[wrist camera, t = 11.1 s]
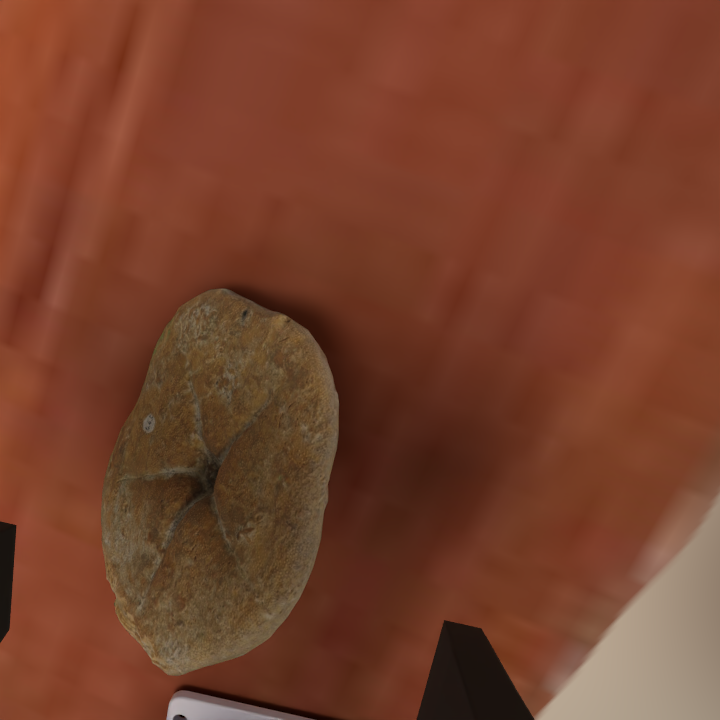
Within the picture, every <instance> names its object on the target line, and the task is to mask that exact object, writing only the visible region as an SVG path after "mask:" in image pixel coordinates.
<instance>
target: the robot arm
mask: <svg viewBox="0 0 720 720" xmlns="http://www.w3.org/2000/svg"><path fill="white" fill-rule="evenodd" d="M15 537H16V525H13V524H9V523H4V522H0V642H1V641H2V639H3V638H4V637H5V635H6V634H7V632H8V631H9V628H10V613H11V598H12V582H13V567H14V552H15ZM179 715H183V716H185V717H186V718H182V717H180V716H179ZM166 720H315V719H310V718H306V717H301V716H297V715H293V714H288V713H284V712H279V711H275V710H270V709H266V708H262V707H257V706H253V705H248V704H244V703H239V702H235V701H231V700H226V699H222V698H217V697H213V696H209V695H204V694H200V693H195V692H191V691H185V690H181V691H178V692H176V693H175V694H174V695H173V696H172V699H171V701H170V703H169V706H168V713H167V719H166ZM417 720H534V718H533V716H532V715H531V713H530V712H529V710H528V708H527V707H526V705H525V703H524V702H523V700H522V698H521V697H520V695H519V693H518V692H517V690H516V688H515V686H514V685H513V683H512V681H511V679H510V678H509V676H508V674H507V673H506V671H505V669H504V667H503V665H502V664H501V662H500V660H499V658H498V657H497V655H496V653H495V651H494V650H493V648H492V646H491V644H490V642H489V641H488V639H487V637H486V636H485V634H484V632H483V631H482V629H481V628H477V627H473V626H468V625H464V624H459V623H455V622H450V621H446V620H444V623H443V627H442V630H441V634H440V638H439V641H438V645H437V648H436V652H435V656H434V659H433V663H432V666H431V670H430V674H429V677H428V681H427V684H426V688H425V692H424V695H423V699H422V702H421V706H420V709H419V713H418V717H417Z"/></svg>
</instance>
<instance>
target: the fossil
mask: <svg viewBox="0 0 720 720" xmlns="http://www.w3.org/2000/svg"><path fill="white" fill-rule="evenodd" d="M338 437H339V400H338V394H337V391H336V389H335V385H334V380H333V375H332V372H331V370H330V367H329V365H328V362H327V358H326V356H325V354H324V353H323V351H322V349H321V348H320V346H319V344H318V343H317V342H316V340H315V339H314V338H313V336H312V335H311V333H310V332H309V330H308V329H306V328H304V327H303V326H301V325H300V324H298V323H297V322H295V321H294V320H292V319H291V318H289V317H288V316H286V315H285V314H282V313H279V312H273V311H271V310H269V309H266V308H264V307H262V306H260V305H258V304H257V303H255V302H253V301H251V300H249V299H247V298H245V297H242V296H240V295H238V294H236V293H235V292H233V291H231V290H228V289H224V288H223V289H212V290H208V291H206V292H204V293H202V294H200V295H198V296H196V297H195V298H193V299H191V300H190V301H188V302H186V303H185V304H183V305H182V306H180V307H179V308H178V310H177V312H176V314H175V315H174V317H173V319H172V320H171V321H170V322H169V323H168V324H167V325H166V327H165V329H164V331H163V333H162V335H161V337H160V338H159V340H158V342H157V344H156V347H155V349H154V352H153V355H152V358H151V361H150V364H149V369H148V373H147V376H146V379H145V381H144V384H143V387H142V390H141V394H140V396H139V399H138V401H137V403H136V405H135V407H134V409H133V411H132V412H131V414H130V415H129V417H128V418H127V420H126V422H125V423H124V425H123V427H122V428H121V431H120V433H119V436H118V439H117V442H116V444H115V447H114V450H113V452H112V454H111V456H110V460H109V464H108V467H107V471H106V475H105V478H104V484H103V492H102V509H101V526H102V547H103V554H104V558H105V567H106V575H107V579H108V581H109V582H110V585H111V588H112V590H113V592H114V593H115V595H116V600H115V602H114V606H115V611H116V614H117V616H118V619H119V621H120V623H121V624H122V625H123V626H124V628H125V629H126V630H127V631H128V632H129V634H130V635H131V636H132V637H133V638H134V639H136V640H137V642H138V643H139V644H141V646H142V647H143V648H144V650H145V651H146V652H147V654H148V655H149V656H150V658H151V660H152V663H153V664H155V665H156V666H158V667H159V668H160V669H162V670H163V671H164V672H165V673H166V674H168V675H174V676H179V675H183V674H186V673H188V672H190V671H193V670H197V669H200V668H203V667H206V666H210V665H214V664H217V663H220V662H224V661H227V660H231V659H234V658H237V657H239V656H242V655H245V654H246V653H248V652H249V651H251V650H252V649H254V648H255V647H257V646H258V645H260V644H262V643H263V642H265V641H266V640H267V639H269V638H270V637H271V636H272V634H273V633H274V632H275V631H276V630H277V628H278V627H279V626H280V625H281V624H282V623H283V622H284V621H285V619H286V618H287V617H288V615H289V614H290V612H291V611H292V609H293V608H294V606H295V604H296V603H297V601H298V600H299V598H300V596H301V594H302V592H303V590H304V588H305V586H306V583H307V581H308V579H309V576H310V574H311V571H312V569H313V566H314V563H315V560H316V556H317V552H318V548H319V545H320V541H321V536H322V524H323V517H324V511H325V508H326V505H327V503H328V482H329V479H330V474H331V470H332V466H333V462H334V458H335V454H336V450H337V444H338Z"/></svg>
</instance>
